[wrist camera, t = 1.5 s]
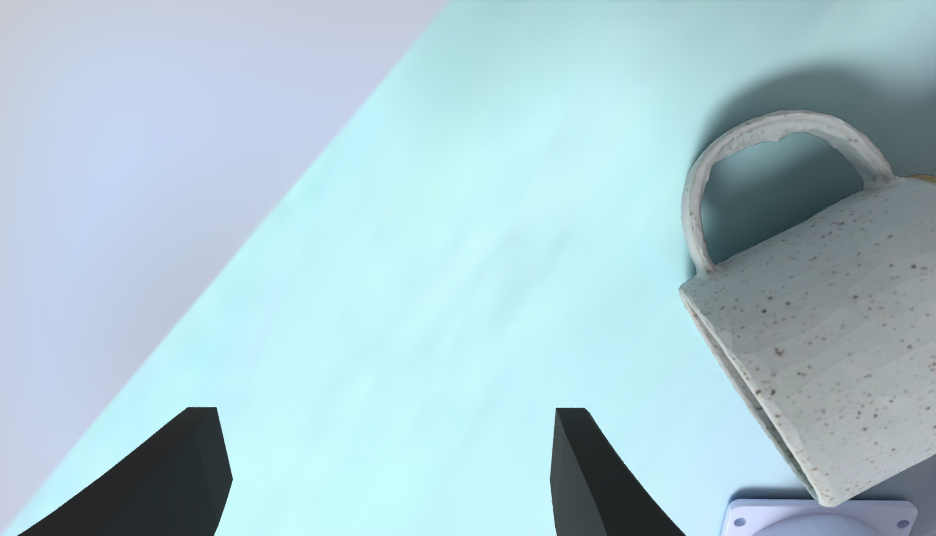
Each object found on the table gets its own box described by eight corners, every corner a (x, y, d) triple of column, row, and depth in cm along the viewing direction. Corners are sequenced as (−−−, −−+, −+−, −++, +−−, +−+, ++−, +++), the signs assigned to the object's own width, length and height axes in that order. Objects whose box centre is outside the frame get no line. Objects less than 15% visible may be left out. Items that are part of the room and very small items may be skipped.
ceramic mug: (950, 295, 22) (1170, 435, 15) (742, 400, 24) (848, 566, 17) (838, 43, 18) (1055, 72, 11) (607, 191, 21) (671, 292, 14)
